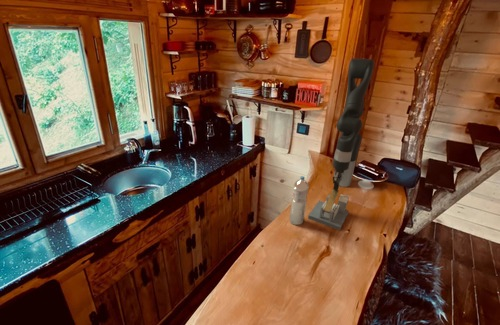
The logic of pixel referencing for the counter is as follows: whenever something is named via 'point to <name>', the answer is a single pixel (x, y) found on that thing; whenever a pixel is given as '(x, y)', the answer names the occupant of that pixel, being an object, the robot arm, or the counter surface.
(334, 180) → the robot arm
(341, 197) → the latch
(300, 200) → the water bottle
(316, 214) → the clip base
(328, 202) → the tan flat bar
